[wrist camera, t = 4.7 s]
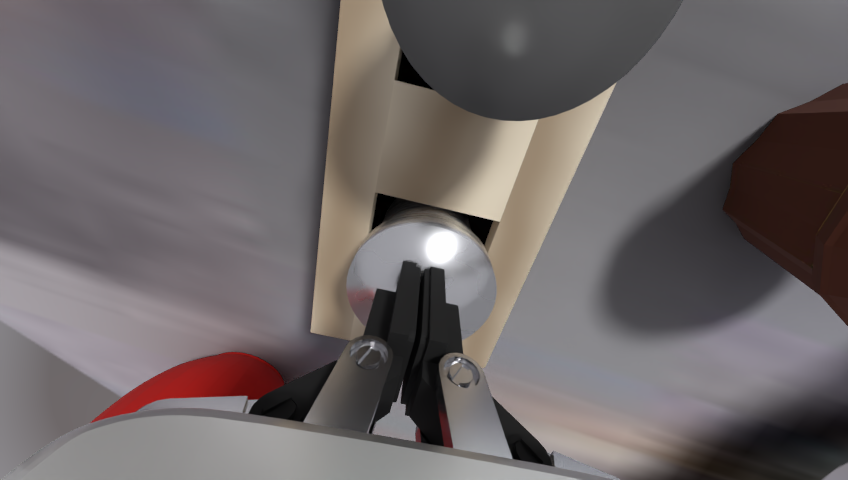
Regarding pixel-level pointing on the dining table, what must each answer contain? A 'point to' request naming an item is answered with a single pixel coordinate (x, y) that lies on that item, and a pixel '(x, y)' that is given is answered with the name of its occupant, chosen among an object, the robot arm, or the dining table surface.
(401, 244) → the steel knob
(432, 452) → the robot arm
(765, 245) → the muffin
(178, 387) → the ceramic cup
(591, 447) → the dining table surface
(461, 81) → the dark gray knob
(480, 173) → the box
